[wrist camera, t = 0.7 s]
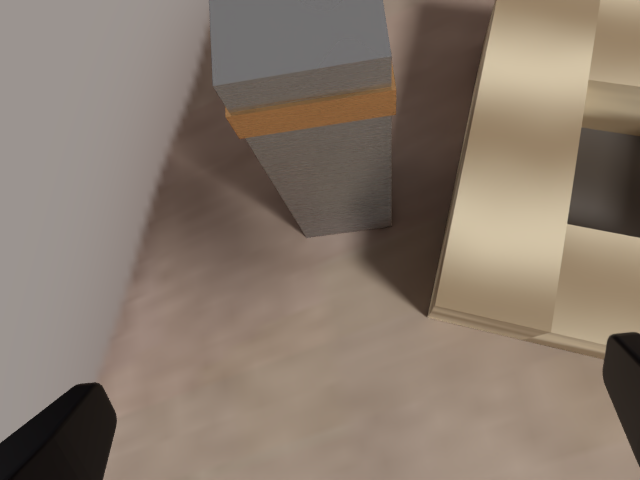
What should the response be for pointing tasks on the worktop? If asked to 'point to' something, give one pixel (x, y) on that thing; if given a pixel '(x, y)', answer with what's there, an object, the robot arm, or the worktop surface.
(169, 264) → the worktop surface
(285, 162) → the square bit
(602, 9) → the socket block
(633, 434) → the robot arm
